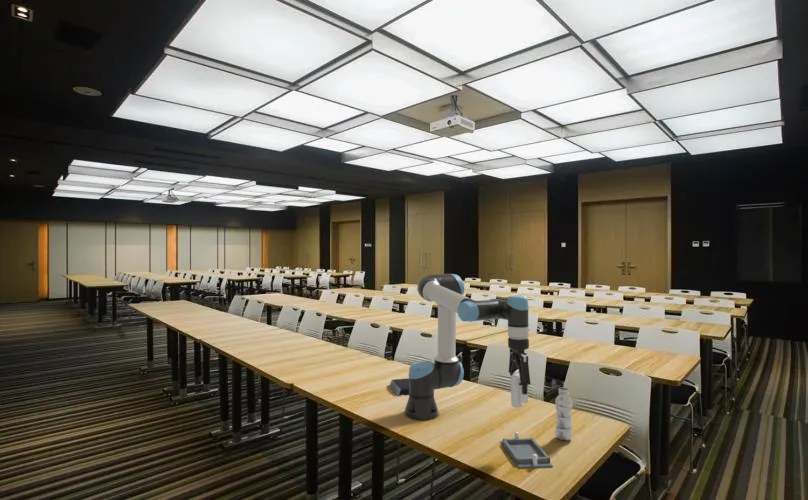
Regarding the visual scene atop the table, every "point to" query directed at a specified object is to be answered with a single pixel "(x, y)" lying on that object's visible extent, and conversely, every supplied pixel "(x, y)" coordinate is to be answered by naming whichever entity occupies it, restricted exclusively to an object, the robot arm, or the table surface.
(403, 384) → the external hard drive
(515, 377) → the photo printer
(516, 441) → the tray
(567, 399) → the plastic bottle
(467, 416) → the table surface
